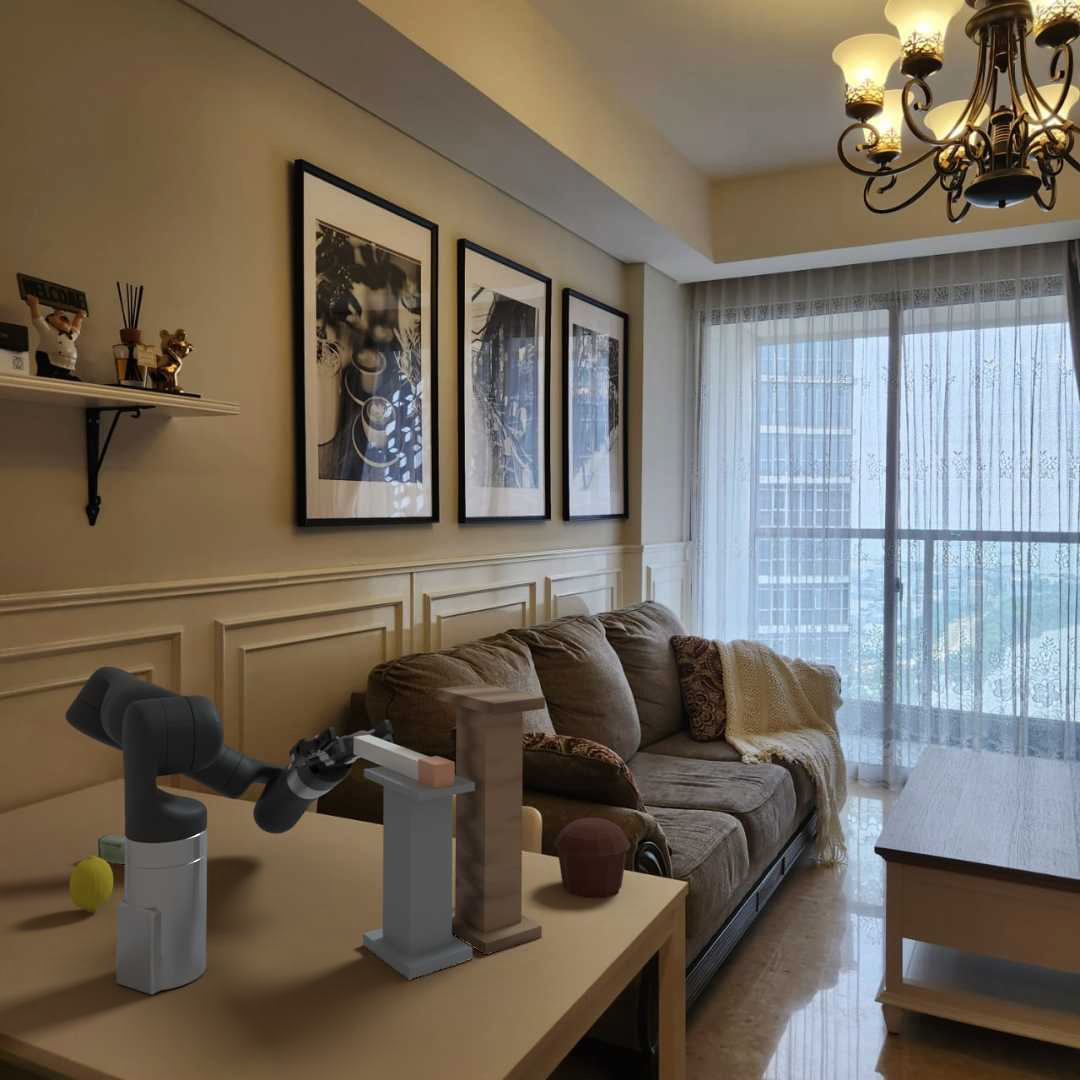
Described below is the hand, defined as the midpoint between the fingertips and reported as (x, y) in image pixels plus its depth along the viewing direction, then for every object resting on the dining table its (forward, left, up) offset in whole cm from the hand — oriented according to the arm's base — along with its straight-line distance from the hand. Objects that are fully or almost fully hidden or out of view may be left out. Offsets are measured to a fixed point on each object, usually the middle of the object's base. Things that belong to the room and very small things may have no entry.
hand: (361, 729), depth 130 cm
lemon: (-18, +33, -26) cm, 46 cm away
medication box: (-2, +45, -26) cm, 52 cm away
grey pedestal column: (-7, -14, -26) cm, 30 cm away
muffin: (+24, -25, -26) cm, 43 cm away
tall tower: (+3, -19, -26) cm, 32 cm away
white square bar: (-5, -10, -3) cm, 12 cm away
